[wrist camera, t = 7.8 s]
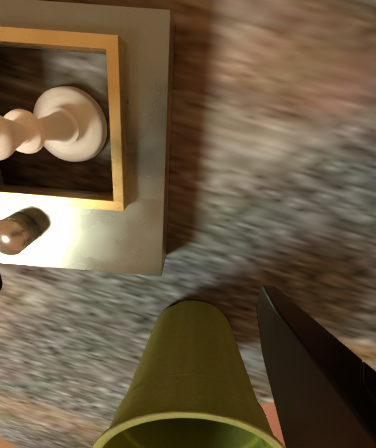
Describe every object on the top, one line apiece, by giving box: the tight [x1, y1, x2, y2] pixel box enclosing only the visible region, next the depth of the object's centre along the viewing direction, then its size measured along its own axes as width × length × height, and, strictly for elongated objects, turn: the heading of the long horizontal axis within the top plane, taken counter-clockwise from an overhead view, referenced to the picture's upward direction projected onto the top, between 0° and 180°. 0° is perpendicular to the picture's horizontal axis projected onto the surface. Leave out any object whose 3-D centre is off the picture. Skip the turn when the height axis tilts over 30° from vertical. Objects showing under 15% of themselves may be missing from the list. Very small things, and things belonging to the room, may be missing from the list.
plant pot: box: [92, 301, 285, 448], centre depth 20 cm, size 12×12×11 cm
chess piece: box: [0, 86, 107, 162], centre depth 14 cm, size 5×5×10 cm
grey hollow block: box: [0, 0, 175, 276], centre depth 17 cm, size 14×16×5 cm
